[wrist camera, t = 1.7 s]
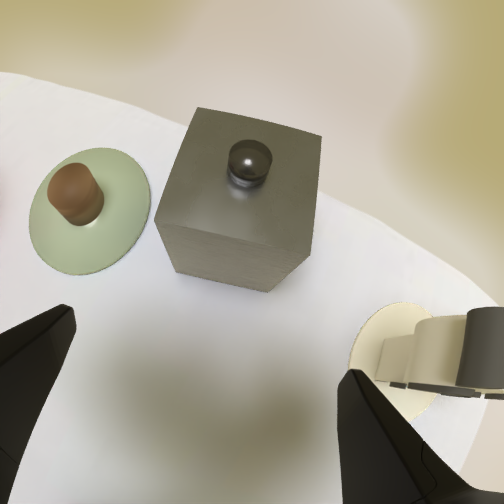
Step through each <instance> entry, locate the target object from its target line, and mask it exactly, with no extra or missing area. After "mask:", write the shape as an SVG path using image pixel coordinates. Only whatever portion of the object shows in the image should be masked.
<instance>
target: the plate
mask: <svg viewBox="0 0 504 504" xmlns="http://www.w3.org/2000/svg"><path fill="white" fill-rule="evenodd" d="M70 163H82V164H84V165H86V166H87V167H88V168H89V170H90V172H91V173H92V175H93V177H94V179H95V180H96V182H97V184H98V185H99V187H100V189H101V190H102V192H103V194H104V206H103V209H102V211H101V213H100V214H99V216H98V217H97V218H96V219H95V220H94V221H92V222H91V223H89V224H87V225H84V226H75V225H72V224H70V223H69V222H68V221H67V220H66V219H65V218H64V217H63V216H62V215H61V214H60V213H59V212H58V211H57V210H56V209H55V208H54V206H53V205H52V204H51V203H50V202H49V200H48V197H47V188H48V185H49V182H50V180H51V178H52V177H53V175H54V174H55V173H56V172H57V171H58V170H59V169H60V168H62V167H63V166H65V165H67V164H70ZM149 208H150V191H149V185H148V182H147V179H146V176H145V174H144V172H143V170H142V168H141V167H140V165H139V164H138V163H137V162H136V161H135V160H134V159H133V158H132V157H130V156H129V155H128V154H126V153H124V152H122V151H119V150H116V149H111V148H93V149H88V150H84V151H81V152H78V153H76V154H74V155H72V156H70V157H68V158H67V159H65V160H64V161H62V162H61V163H60V164H58V165H57V166H56V167H55V168H54V169H53V170H52V171H51V172H50V173H49V174H48V175H47V176H46V178H45V179H44V180H43V182H42V183H41V185H40V187H39V188H38V190H37V192H36V194H35V196H34V199H33V202H32V205H31V209H30V215H29V232H30V237H31V241H32V244H33V246H34V249H35V250H36V252H37V254H38V255H39V256H40V258H41V259H42V260H43V261H44V262H45V263H46V264H48V265H49V266H51V267H52V268H54V269H56V270H57V271H60V272H63V273H66V274H71V275H85V274H91V273H95V272H98V271H100V270H103V269H105V268H107V267H109V266H110V265H112V264H114V263H115V262H116V261H118V260H119V259H120V258H122V257H123V256H124V255H125V254H126V253H127V252H128V251H129V250H130V248H131V247H132V246H133V245H134V244H135V242H136V241H137V239H138V238H139V236H140V234H141V232H142V230H143V228H144V226H145V223H146V221H147V217H148V213H149Z"/></svg>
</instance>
